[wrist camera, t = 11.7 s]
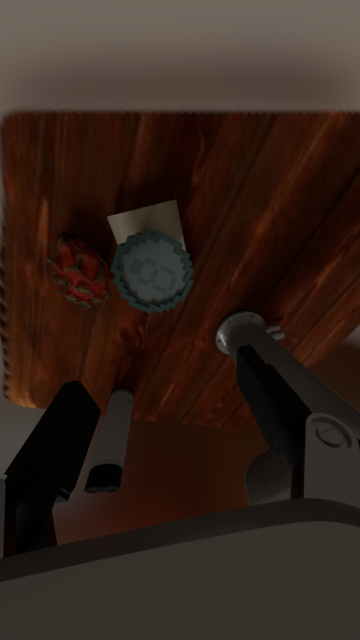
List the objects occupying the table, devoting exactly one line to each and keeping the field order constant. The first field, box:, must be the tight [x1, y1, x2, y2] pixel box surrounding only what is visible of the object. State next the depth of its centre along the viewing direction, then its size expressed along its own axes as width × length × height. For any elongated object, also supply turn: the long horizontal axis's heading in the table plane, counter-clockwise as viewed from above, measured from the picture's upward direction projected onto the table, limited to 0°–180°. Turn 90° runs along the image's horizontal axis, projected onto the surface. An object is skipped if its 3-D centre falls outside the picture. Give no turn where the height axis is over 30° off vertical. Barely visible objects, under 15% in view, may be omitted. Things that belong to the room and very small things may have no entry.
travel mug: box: [84, 389, 134, 493], centre depth 37 cm, size 6×7×20 cm
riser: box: [107, 200, 186, 251], centre depth 27 cm, size 10×12×4 cm
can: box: [110, 230, 194, 314], centre depth 19 cm, size 6×6×15 cm
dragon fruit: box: [47, 232, 111, 309], centre depth 26 cm, size 8×8×12 cm
